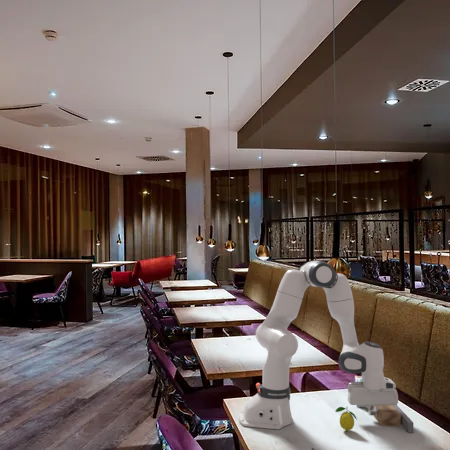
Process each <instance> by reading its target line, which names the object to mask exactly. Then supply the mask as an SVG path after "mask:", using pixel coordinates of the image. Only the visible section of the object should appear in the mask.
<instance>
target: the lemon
mask: <svg viewBox="0 0 450 450" xmlns="http://www.w3.org/2000/svg"><path fill="white" fill-rule="evenodd" d="M345 410H346V411H345ZM343 411H344V412H343ZM334 412H335V413H339V412H342V413H341V414H340V417H339V425H340V427H341V428H342V429H343V430H345V432H349V431H351V430H352V429H353V428H354V426H355V420H356V421H358V419H357V416H356V414H355V413H353V411H350V410H347V407H343V406H339V407H337V408H336V409H335V411H334Z"/></svg>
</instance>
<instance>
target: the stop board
mask: <svg viewBox="0 0 450 450" xmlns="http://www.w3.org/2000/svg"><path fill="white" fill-rule="evenodd" d="M393 406H394V407H395V408H396V409H397V411H398V412H399V413H400V414H401V427H402V428H404V429H405V431H406V432H407V433H408V434H413V433H414V421H412V419H411V418H410V417H409V416H408V415H407V414H406V413H405V411H403V410H402V409H401V408H400V406H398V404H397V405H393Z"/></svg>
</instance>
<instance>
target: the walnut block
mask: <svg viewBox="0 0 450 450" xmlns="http://www.w3.org/2000/svg"><path fill="white" fill-rule="evenodd" d="M375 407H376V406H375V405H372V408H373V409H372V410H374V408H375ZM372 416H373V418H375V420H376V421H377V422H378V424H379V425H380V426H381V427H402V425H401V414H400V413H399V412H398V411H397V409H396V408H395V407H394V406H393V405H379V409H378V411H377V415H372Z"/></svg>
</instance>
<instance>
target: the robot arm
mask: <svg viewBox="0 0 450 450" xmlns="http://www.w3.org/2000/svg"><path fill="white" fill-rule="evenodd" d="M278 285H279V286H278V288H277V291H276V293H275V294H276V295H275V298H274V300H273V303H272V305H271V308H270V311H269V313H268V314H267V316H266V318H265V319H264V320H263V322H262V323H260V324H259V325H258V326H257V328H256V330H255V339H256V340H257V342H258V343H259V344H260V346H261V347H262V348H264V349H266V351H267V354H266V355H267V356H266V360H265V363H263V366H262V381H261V382H262V384H261V383H260V382H257V383H256V384H255V387H256V389H257V393H256V394H255V395H253V396H251V397H250V398H249V399H247V401H246V402H245V404H244V408H243V409H242V410H241V411H240V412H239V414H238V422H239V423H240V425H242V427H243V426H244V427H251V428H260V429H261V428H262V429H272V430H281V429H282V428H284V427H286V426H289V425H290V424H292V423H293V421H294V420H293V419H294V418H293V415H292V411H291V406H290V404H291V403H290V400H291V387H290V368H291V367H290V365H291V362H292V358H293V356H294V355H295V354H297V351H298V350H299V349H298V348H299V341H298V340H297V338H296V336H295V335H294V334H293V333H292V332H291V331H289V330H288V327H289V326H290V325H291V322H292V321H294V320H295V319H297V317H298V314H299V311H300V309H301V305H302V302H303V299H304V295H305V292H306V290H307V288H309V287H310V286H312V287H313V288H322V289H323V291H324V293H325V296H326V303H327V307H328V311H329V314H330V316H331V318H333V319H334V320H335V321H336V322H337V323H338V325H339V328H340V332H341V337H342V343H343V344H342V348H341V352H340V355H339V356H338V365H339V368H340V369H341V370H342V371H344V372H345V373H347V374H361V376H362V382H355V381H351V382H349V383H348V384H347V392H348V393H347V402H348V404H350V405H351V406H357V405H366V407H367V408H366V409H367V410H368V416H373V415H377V411H378V409H379V405H397V406H398V403H399V395H398V391H397V389H396V388H397V385H396V383H395V382H394V381H393V380H392V379H391V378H388V377H385V376H384V375H385V374H384V367H385V362H384V361H385V359H384V358H385V357H384V350H383V348H382V347H381V345H380V344H378V343H377V342H374V341H373V342H372V341H364V342H363V343H360V342H359V340H358V339H359V338H358V334H357V331H356V324H355V301H354V295H353V291H352V288H351V284H350V282H349V280H348V278H347V276H346V275H345V274H342V273H337V272H336V271H335V269H334V268H333V267H332V266H331V265H330V264H329V263H328V262H326V261H321V260H309V261H307V262H305V263H303V264H302V265H301V266H300V267H299V268H298V269H294V268H293V269H288V270H287V271H286V272H285V273H284V275H283V276H282V278H281V280H280V283H279V284H278ZM371 405H372V406H373V405H375V406H376V407H375V408H374V410H373V409H371V408H369V407H371Z"/></svg>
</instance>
